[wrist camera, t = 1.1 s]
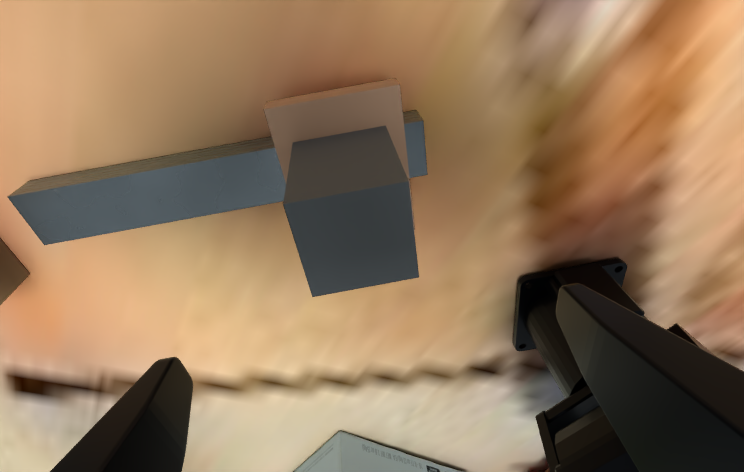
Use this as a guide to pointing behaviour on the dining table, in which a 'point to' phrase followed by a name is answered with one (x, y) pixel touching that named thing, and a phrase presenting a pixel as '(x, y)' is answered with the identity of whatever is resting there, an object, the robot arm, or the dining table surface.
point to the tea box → (364, 458)
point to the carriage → (347, 185)
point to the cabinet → (9, 272)
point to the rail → (169, 188)
